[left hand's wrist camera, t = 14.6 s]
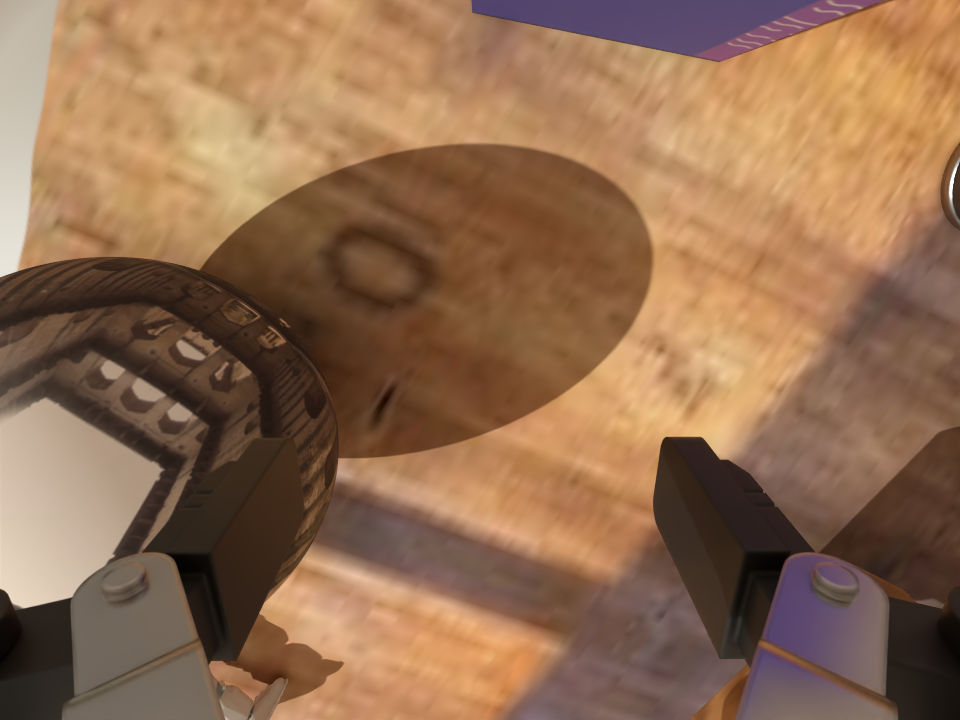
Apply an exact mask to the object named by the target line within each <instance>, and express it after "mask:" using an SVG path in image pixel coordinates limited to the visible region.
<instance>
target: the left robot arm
mask: <svg viewBox="0 0 960 720" xmlns="http://www.w3.org/2000/svg"><path fill="white" fill-rule="evenodd" d="M941 202H942V207H943V210H944V212H945V215H946V216H947V218H948V220H949V221H950V222H951V223H952V224H953V225H954V226H955V227H956V228H957V229H959V230H960V143H959V144H958V146H957V147H956V149H955V150H954V152H953V154H952V155H951V157H950V159H949V161H948V163H947V166H946V168H945V171H944V174H943V178H942V184H941ZM653 509H654V516H655V521H656V524H657V527H658V529H659V531H660V533H661V535H662V538H663V540H664V542H665V544H666V546H667V548H668V550H669V552H670V554H671V557H672V559H673V561H674V563H675V565H676V567H677V569H678V571H679V573H680V576H681V578H682V580H683V582H684V584H685V586H686V588H687V590H688V592H689V595H690V597H691V599H692V601H693V603H694V605H695V607H696V609H697V612H698V614H699V616H700V618H701V620H702V622H703V624H704V626H705V628H706V631H707V633H708V635H709V637H710V639H711V641H712V643H713V645H714V647H715V650H716V652H717V654H718V656H719V658H720V659H745V660H746V662H747V664H748V666H749V668H750V671H749V675H748V678H747V681H746V684H745V687H744V691H743V694H742V697H741V700H740V704H739V707H738V710H737V713H736V717H735V720H960V586H958V587H956V588H954V589H953V590H952V591H951V592H950V593H949V596H948V598H947V600H946V603H945V605H944V607H943V609H940V608H936V607H931V606H927V605H923V604H918V603H914V602H909V601H905V600H901V599H896V598H892V597H888V596H887V594H886V593H885V591H884V590H883V588H882V587H881V586H880V585H879V584H878V582H876V581H875V580H874V579H873V578H872V577H871V576H870V575H868V574H867V573H866V572H864V571H863V570H861V569H859V568H858V567H856V566H854V565H852V564H850V563H848V562H846V561H844V560H841V559H839V558H836V557H833V556H830V555H826V554H821V553H815V551H814V550H813V549H812V548H811V547H810V545H809V544H808V543H807V542H806V541H805V539H804V538H803V537H802V536H801V535H800V534H799V532H798V531H797V530H796V529H795V528H794V526H793V525H792V524H791V523H790V522H789V520H788V519H787V518H786V517H785V516H784V514H783V513H782V512H781V511H780V510H779V508H778V507H775V506H774V502H773V501H772V500H771V499H770V498H769V496H768V495H767V494H766V493H763V489H762V488H761V487H760V486H759V484H758V483H757V482H756V481H755V480H754V479H753V477H752V476H751V475H750V474H749V473H748V472H746V471H745V470H743V469H741V468H740V467H738V466H737V465H735V464H734V463H732V462H731V461H729V460H720V459H719V458H718V457H717V455H716V454H715V453H714V451H713V450H712V449H711V448H710V446H709V445H708V444H707V442H706V441H705V440H704V439H703V438H702V437H665V438H664V439H663V441H662V444H661V449H660V455H659V462H658V469H657V476H656V483H655V490H654V497H653ZM303 513H304V495H303V488H302V482H301V475H300V468H299V461H298V455H297V448H296V444H295V442H294V440H293V439H292V438H255V439H254V440H253V441H252V442H251V443H250V445H249V446H248V447H247V448H246V450H245V451H244V452H243V453H242V455H241V456H240V457H239V458H238V460H237V461H228V462H226V463H225V464H223V465H221V466H220V467H218V468H217V469H215V470H214V471H212V472H211V473H209V474H208V475H207V476H206V477H205V478H204V479H203V480H202V481H201V483H200V484H199V485H198V486H197V487H196V489H195V490H194V491H193V494H191V495H190V496H189V497H188V498H187V499H186V500H185V502H184V503H183V504H182V508H179V509H178V510H177V511H176V512H175V513H174V515H173V516H172V517H171V518H170V519H169V521H168V522H167V523H166V524H165V525H164V527H163V528H162V529H161V530H160V531H159V532H158V534H157V535H156V536H155V537H154V538H153V540H152V541H151V542H150V543H149V544H148V545H147V547H146V548H145V549H144V550H143V551H142V553H139V554H134V555H130V556H127V557H124V558H121V559H119V560H116V561H114V562H112V563H110V564H108V565H106V566H104V567H102V568H101V569H99V570H97V571H96V572H94V573H93V574H92V575H90V576H89V577H88V578H87V579H86V580H85V581H84V582H82V584H81V585H80V586H79V587H78V588H77V590H76V591H75V593H74V594H73V597H71V598H67V599H63V600H59V601H54V602H50V603H45V604H41V605H37V606H32V607H28V608H23V609H19V610H15V609H14V607H13V604H12V602H11V600H10V597H9V595H8V593H7V592H5V591H4V590H2V589H0V720H225V717H224V713H223V710H222V707H221V704H220V700H219V697H218V694H217V691H216V687H215V684H214V681H213V678H212V675H211V671H210V668H209V664H210V662H211V661H236V660H237V658H238V656H239V654H240V652H241V650H242V648H243V646H244V644H245V641H246V639H247V637H248V635H249V633H250V631H251V629H252V627H253V625H254V623H255V621H256V618H257V616H258V614H259V612H260V610H261V608H262V606H263V604H264V602H265V600H266V598H267V595H268V593H269V591H270V589H271V587H272V585H273V583H274V581H275V579H276V577H277V575H278V573H279V570H280V568H281V566H282V564H283V562H284V560H285V558H286V556H287V554H288V552H289V550H290V547H291V545H292V543H293V541H294V539H295V537H296V535H297V533H298V531H299V529H300V526H301V523H302V519H303Z"/></svg>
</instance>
